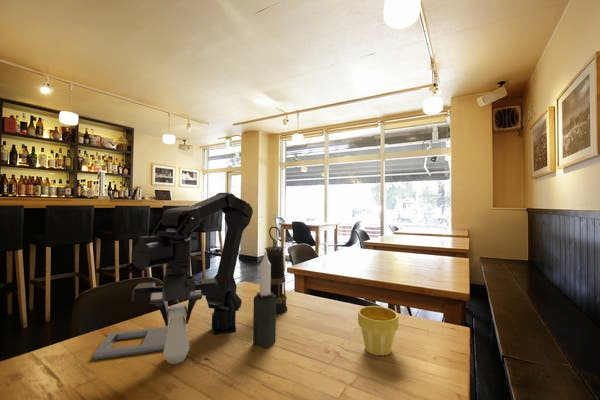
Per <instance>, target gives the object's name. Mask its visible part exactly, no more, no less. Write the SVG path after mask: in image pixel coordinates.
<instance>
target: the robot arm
mask: <svg viewBox="0 0 600 400" xmlns="http://www.w3.org/2000/svg"><path fill="white" fill-rule="evenodd" d="M217 212H221V213H222V214H224V221H225V225H226V228H227V229H226V232H225V236H224V237H225V238H224V241H223V246H222V249H221V250H222V251H221V255H220V259H219V264H218V267H217V272H216V274H215V276H214V277H213V278H212V277H211V278H201V281H200V282H201V283H200V282H197V277H196V275H192V274H191V268H192V267H191V264H192V261H191V258H192V242H193V241H197V240H198V236H196V235H195V234H194V233H193V231H194V230H196V228H198V227H199V226H200V225H201V222H202V220H204V219H206V218H207V217H208V218H209V217H210V216H211V215H212V216H213V214H215V213H217ZM253 213H254V209H253V207H252V206H251V204H250V203H248V202H247V201H246V200H243V199H241V198H240V197H237V196H236V195H235V194H234V193H232V192H218V193H216V194H215V195H213V196H210V197H208V198H206V199H203V200H201V201H199V202H196V203H193V204H191V205H187V206H180V207H174V208H169V209H166V210H164V212H163V213H162V217H161V219H159V221H158V224H157V225H156V226H155V228H154V230H153V231H152V233H151V235H150V236H145V235H144V236H139V237H138V242H137V243H136V244H135V245H134V247H132V248H133V249H132V251H131V255H130V257H131V261H132V263H133V265H134V266H135V268H137V269H139V270H144V269H149V268H152V267H157V266H161V265H165V266H164V267H165V269H164V277H163V278H162V285H156V282H154V281H152V282H141V283H140V282H139V283H138V284H137V285H136V286H135V287H134V289H133V290H132V292H131V302H132V303H140V302H147V301H148V300H149V299H150V301H149V304H154V305H155V306H157V309H159V311H160V314H161V316H162V317H161V318H162V319H163V321H164V324H165V325H164V326H165V327H168V326H169V324H170V321H169V319H170V318H169V317H168V309H169V304H168V302H170V301H176V300H178V301H183V300H186V298H187V294H189V297H188V303H187V313H186V315H185V323H186V325H188V324H189V321H190V319H191V318H190V317H191V314H192V311H193V309H194V307H195V305H196V303H197V302H198V301H199V300H202V299H203V297H205V300H206V303H207V306H208V309H212V310H213V312H211V330H213V334H214V335H216V334H217V335H218V334H225V333H232V332H237V326H236V319H237V318H236V313H237V312H238V311H239V310H240V308H242V303H243V301H242V299H241V298H240V296H239V295H238V294H237V288H238V287H237V283H236V280H235V271H236V266H237V261H238V256H239V251H240V246H241V242H242V239H243V238H242V237H243V232H244V230H245V229H246V228H247V227H248V225H250V222H251V220H252V216H253V215H254V214H253ZM196 282H197V283H196Z"/></svg>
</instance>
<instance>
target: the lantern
mask: <svg viewBox="0 0 600 400" xmlns="http://www.w3.org/2000/svg"><path fill="white" fill-rule="evenodd" d="M272 229H276V230H277V231H278V237H281V230H280V229H279V228H278V226H271V227H269V230H268V235H269V238H271V240H272V243H273V244H272V246H268V247H264V250H265V252H267V257H268V260H269V262H270V264H271V285H270V292H272V293H273V294H274V295H276V316H279V315H283V313H284V314H285V313H287V312H288V306H287V299H288V297H287V295H286V281H287V280H286V277H285V267H284V251H283V250H284V248H285V247H284V246H279V245H278V246H277V244H278V243H277V240H276V239H275V238H274V237H272V234H271V230H272ZM286 311H287V312H286Z"/></svg>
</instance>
